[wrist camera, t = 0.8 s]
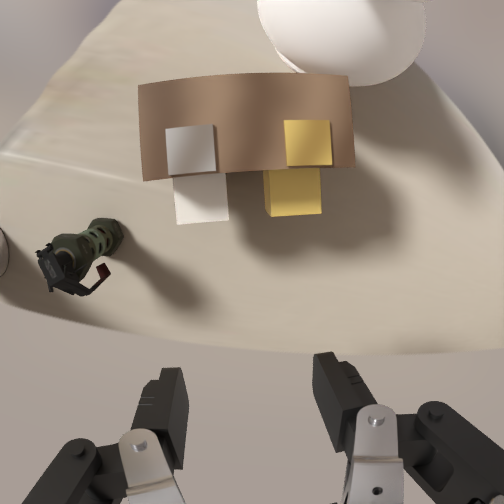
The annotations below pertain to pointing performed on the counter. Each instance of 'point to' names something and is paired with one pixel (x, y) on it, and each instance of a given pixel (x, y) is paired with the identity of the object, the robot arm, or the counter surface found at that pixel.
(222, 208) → the ivory button
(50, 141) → the counter surface
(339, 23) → the decorative vase
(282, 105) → the brown wooden block
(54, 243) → the grenade
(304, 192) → the mustard button
